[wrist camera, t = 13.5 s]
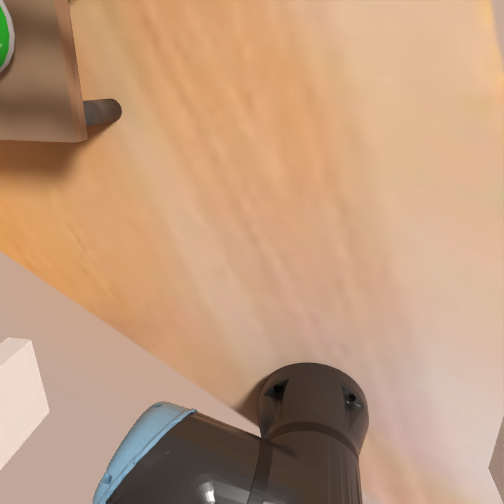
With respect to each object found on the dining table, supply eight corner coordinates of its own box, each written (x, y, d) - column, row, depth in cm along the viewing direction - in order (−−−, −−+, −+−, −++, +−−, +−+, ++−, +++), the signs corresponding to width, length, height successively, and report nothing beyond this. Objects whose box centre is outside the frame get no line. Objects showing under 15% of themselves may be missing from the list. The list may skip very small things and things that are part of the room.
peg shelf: (130, 128, 46) (76, 142, 36) (19, 125, 49) (-60, 137, 39) (110, -65, 39) (36, -113, 29) (-19, -59, 42) (-128, -102, 32)
